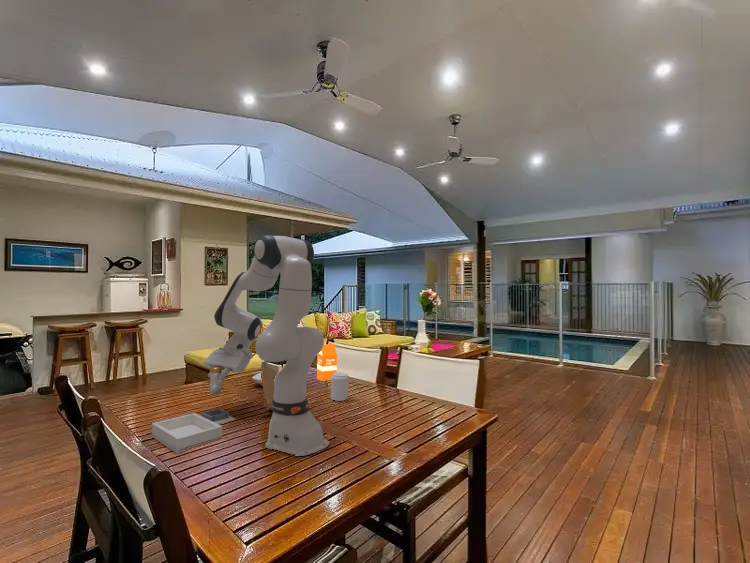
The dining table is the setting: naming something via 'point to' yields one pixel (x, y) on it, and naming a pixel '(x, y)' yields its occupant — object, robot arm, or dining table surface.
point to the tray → (186, 432)
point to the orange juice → (326, 362)
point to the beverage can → (339, 386)
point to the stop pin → (215, 380)
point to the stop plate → (217, 416)
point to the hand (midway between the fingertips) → (214, 378)
